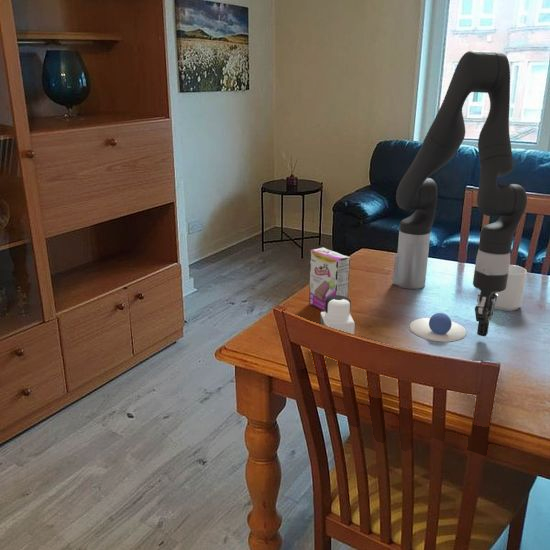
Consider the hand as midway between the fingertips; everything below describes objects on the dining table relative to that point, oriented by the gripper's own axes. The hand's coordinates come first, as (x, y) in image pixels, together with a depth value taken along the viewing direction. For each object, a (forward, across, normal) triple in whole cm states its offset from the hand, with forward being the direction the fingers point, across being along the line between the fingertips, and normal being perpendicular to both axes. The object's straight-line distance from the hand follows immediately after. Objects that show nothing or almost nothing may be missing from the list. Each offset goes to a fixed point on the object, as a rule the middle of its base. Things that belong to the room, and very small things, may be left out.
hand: (482, 334), depth 138 cm
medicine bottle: (+2, +22, -29) cm, 36 cm away
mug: (+2, -28, -1) cm, 28 cm away
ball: (-1, +2, -10) cm, 10 cm away
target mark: (+2, 0, -11) cm, 11 cm away
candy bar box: (+2, +4, -41) cm, 41 cm away
